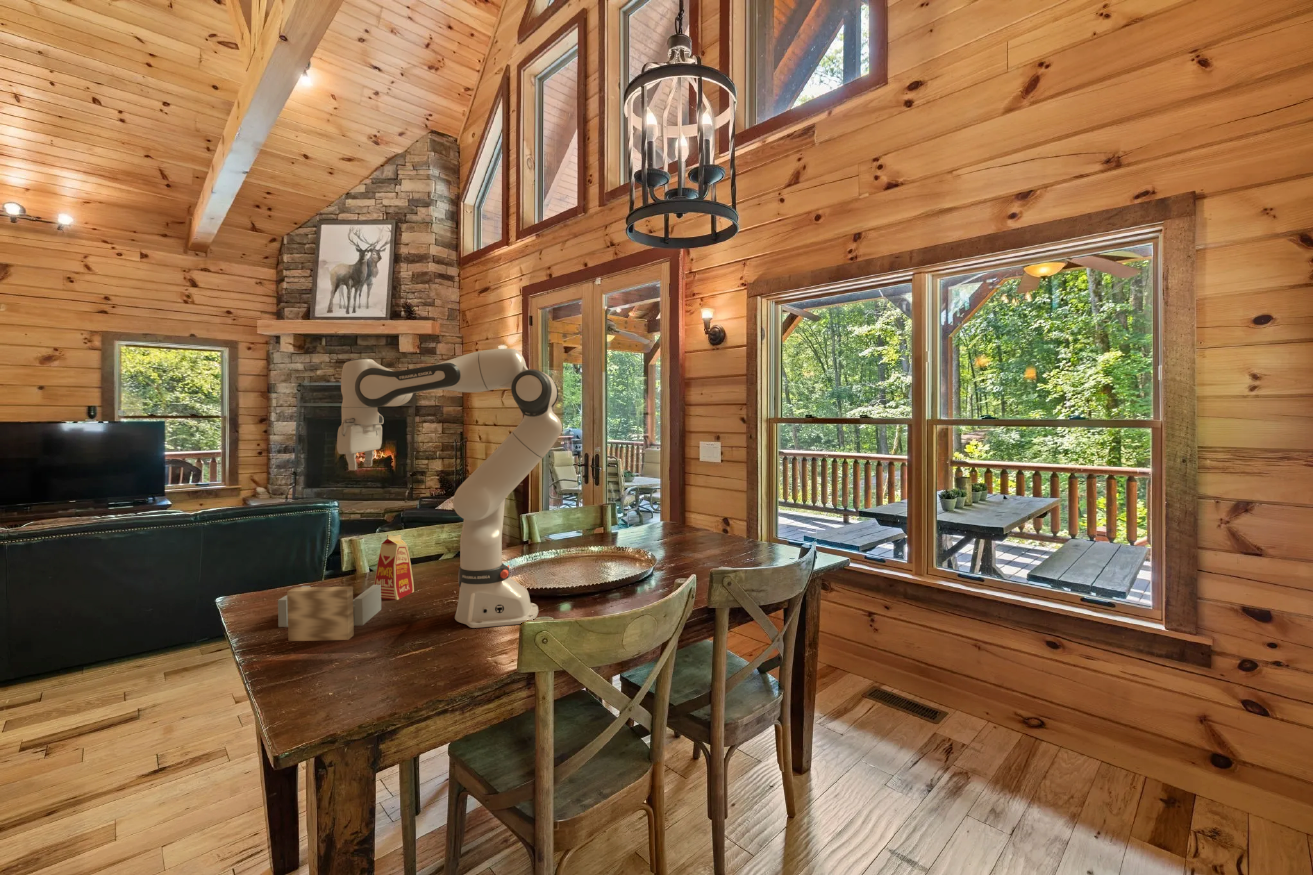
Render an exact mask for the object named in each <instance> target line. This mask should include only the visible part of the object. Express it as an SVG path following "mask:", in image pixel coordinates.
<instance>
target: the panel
mask: <svg viewBox="0 0 1313 875" xmlns="http://www.w3.org/2000/svg"><path fill="white" fill-rule="evenodd" d="M286 593H287V594H286V595H287V606H288V627H287V634H288V635H287V637H288V638H287V640H288V642H305V641H306V642H307V641H308V642H309V641H311V642H313V641H316V642H317V641H349V640H350V639H351V638H352V637H354V635H355V634H354V632H355V630H354V629H355V627H354V621H353V600H354V586H315V587H314V586H312V587H311V586H310V587H302V586H300V587H297V586H296V587H293V588H290V589H289V590H287V592H286Z"/></svg>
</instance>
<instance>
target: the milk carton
mask: <svg viewBox="0 0 1313 875" xmlns="http://www.w3.org/2000/svg"><path fill="white" fill-rule="evenodd" d="M380 544H381V546H380V550H379V556H378V560H377V566H376V570H375V571H376V572H375V578H374V583H373V585H381V600H382V599H383V600H392V601H393V600H395V601H398V600H400V599H402V598H404V597H406V596H408V595H410V594H412V593H414V592H415V587H414V578H413V571H412V563H411V558H410V552H409V547H408V544H407V542H405V541H404V540H403V539H402V534H397V535H392V534H386V539H385V540H383V541H382V543H380Z"/></svg>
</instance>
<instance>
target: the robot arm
mask: <svg viewBox="0 0 1313 875" xmlns="http://www.w3.org/2000/svg"><path fill="white" fill-rule="evenodd" d="M525 360H526V359H525V358H524V356H523V354H522V353H521V352H520V351H519V350H518V349H516V348H491V349H485V350H481V351H480V350H478V351H474V352H471V353H466V354H463V355H459V356H457V357H455V358H451V359H448V360H445V361H442V362H438V363H434V364H430V365H425V366H419V367H413V368H407V369H401V370H392V369H390V368H387V367H385V366H383V365H381V364H379V363H377V361H375V360H373V359H372V358H366V357H365V358H355V359H349V360H348V361H346V362H345V363H344V364H343V366H342V370H341V377H340V378H341V380H340V391H341V395H342V403H341V405H340V406H341V423H340V424H341V425H340V426H338V430H337V437H336V438H337V439H336V440H337V441H336V450H337V453H338V454H339V455H345V459H346V462H347V464H348V470H349V471H357V470H358V469H359V467H358V466H359V465H358V464H359V463H358V462H357V460H356V458H357V454H358V453H359V454H360V453H364V455H365V456H364V460H363V467H365V468H367V467H369V468H370V467H372V466H373V460H374V455H375V451H377V450H380V449H381V447H382V443H383V426H382V425H383V424H384V417H383V415H382V414H380V413H379V411H378V408H380V407H399V406H402V405H405V404H407V403H408V402H410V401H411V399H412V398H413V396H414V394H415V393H421V392H428V391H434V390H435V391H439V390H440V391H450V392H459V393H483V392H489V391H494V390H501V389H510V391H511V395H512V397H513V400H514V401H515V403H516V405H517V406H518V408H519V410H520V412H521V413H522V414H523V415H524V416H523V418H522V420H521V422H520V423H519V424H518V425H517V426H516V427H515V428H514V429H513V430H512V431H511V432H510V434H508V436H507V437H506V438H505V439H504V440H503V441H502V442H501V443H500V445H498V447H497V448H496V449H495V450H494V451H493V452H492V453H491V454H490V455H489V456H488V457H487V458H486V459H485V460H484V461H483V462H482V463H481V464H480V465H479V466H478V467H477V468H476V469H475V470H474V471H473V472H472V473H471V474H470V475H469V476H468V477H467V478H466V479H465V480H464V481H463V482H462V483H461V484H459V486H458V487H457V489H456V491H455V493H454V495H453V499H452V504H453V509H454V511H455V513H456V514H457V516H459V517H460V518H462V520H463V523H462V529H461V534H460V539H459V543H460V544H459V545H460V548H459V550H460V553H459V555H460V560H459V562H460V566H459V567H458V577H457V578H458V579H457V580H458V586H459V593H458V594H459V595H458V601H457V608H456V611H455V615H454V619H455V621H456V622H458V623H461V624H464V625H466V626H468V627H469V628H472V629H475V628H476V629H478V628H489V627H501V626H511V625H512V626H513V625H520V624H521V623H522V622H525V621H527V620H532V621H534V620H535V619H536V618H537V617H538V614H539V606H538V605H537V604H536V603H533V602H531V598H530V593H529V591H528V590H527V588H526V587H525V586H523V585H522V584H520V583H519V582H517V581H516V580H515V579H513V578H511V577H510V565H509V564H507V565H505V563H503V549H502V548H503V544H502V542H503V527H504V520H505V519H504V517H505V507H506V506H505V503H506V498H508V496H509V495H510V494H511V493H512V492H513V491H514V490H515V489H516V488H517V487H518V486H519V484H521V483H522V481H523V480H524V479H525V478H526V477H527V476H528V475H529V474H530V473H531V471H533V470H534V468H536V466H537V465H538V464H539V463H540V462H541V461H542V459H543V458H544V457H546V455H547V454H548V453H549V452H550V451H551V449H552V448H553V446H554V445H555V444H556V442H557V441H558V439H559V437H560V436H561V434H562V431H563V424H562V421H561V420H560V418H559V416H557V414H555V413H554V411H553V409H552V408H553V407H554V406H555V405H556V403H557V402H558V398H559V387H558V386H557V384H556V382H555V381H554V380H553V378H552V377H550V375H549V374H547V373H546V372H543V371H540V370H539V369H534V368H533V369H532V368H530V369H529V368H528V367H527V363H526V361H525ZM533 619H534V620H533ZM521 625H522V624H521Z"/></svg>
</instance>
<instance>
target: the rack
mask: <svg viewBox="0 0 1313 875" xmlns="http://www.w3.org/2000/svg"><path fill="white" fill-rule="evenodd" d="M301 587H311V585H301ZM381 610H382V599H381V585H374V584H372V585H371V586H369V587H368V588H367V589H366V590H364V591H363V592H362V593H360V594H359V595H357V596H356V597H355V598H353V621H354V626H356V627H357V626H364V625H365V624H366V623H368V622H369V621H370V620H371V619H372V618H373V617H374V616H376V614H378V613H379V612H380V611H381ZM277 613H278V614H277V616H278V618H277V619H278V620H277V621H278V624H277V625H278V628H288V606H287V594H286V595H284V596H282V597H281V598H279V599H278V600H277Z"/></svg>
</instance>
